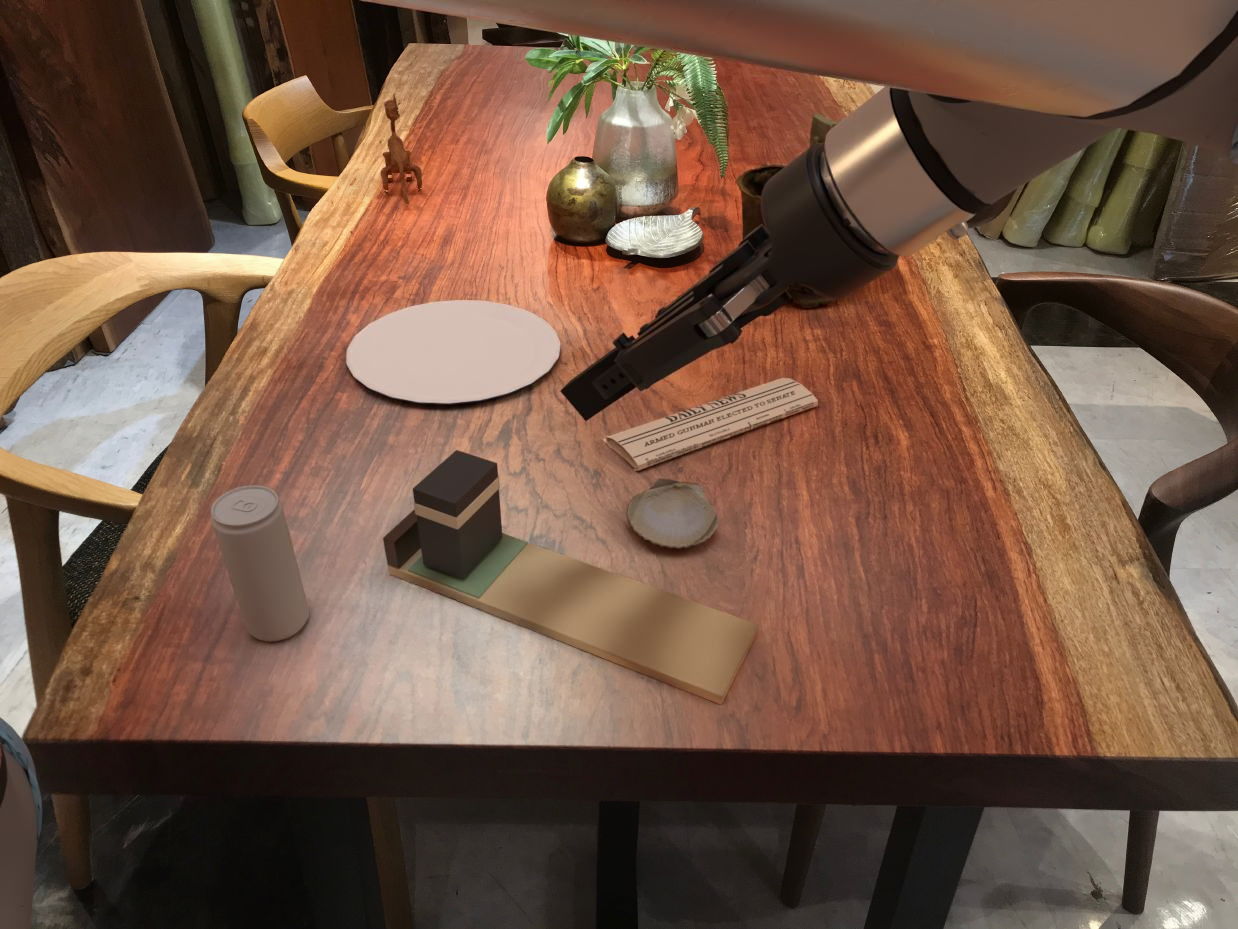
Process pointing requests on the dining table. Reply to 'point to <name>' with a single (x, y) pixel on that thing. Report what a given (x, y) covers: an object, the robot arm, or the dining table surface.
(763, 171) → the pottery vessel
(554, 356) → the plate
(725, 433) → the newspaper
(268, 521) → the beverage can
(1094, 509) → the dining table surface
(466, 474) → the dark grey lidded box
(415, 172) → the brown legged figure
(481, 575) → the rail
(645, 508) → the seashell
